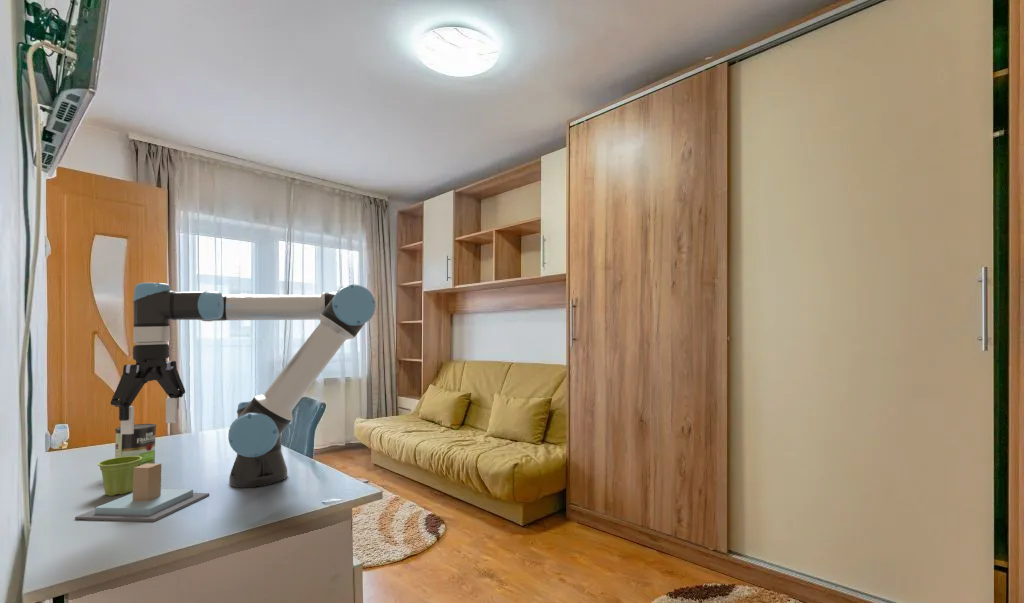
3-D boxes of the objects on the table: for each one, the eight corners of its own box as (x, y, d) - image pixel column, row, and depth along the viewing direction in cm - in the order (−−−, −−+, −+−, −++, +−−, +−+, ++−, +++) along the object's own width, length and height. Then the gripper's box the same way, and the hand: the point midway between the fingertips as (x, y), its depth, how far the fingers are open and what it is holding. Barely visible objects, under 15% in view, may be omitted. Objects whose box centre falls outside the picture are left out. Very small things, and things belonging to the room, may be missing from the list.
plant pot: (116, 499, 130) (117, 465, 130) (87, 497, 132) (88, 464, 132) (149, 488, 139) (150, 456, 139) (121, 486, 141) (122, 455, 141)
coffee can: (163, 467, 160) (164, 423, 160) (133, 477, 149) (135, 430, 150) (135, 466, 161) (136, 423, 162) (104, 476, 151) (106, 429, 152)
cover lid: (193, 495, 130) (194, 458, 131) (149, 515, 116) (150, 474, 117) (143, 494, 131) (144, 458, 132) (94, 514, 117) (96, 473, 118)
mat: (209, 495, 132) (209, 493, 132) (154, 521, 114) (154, 519, 114) (139, 494, 134) (140, 491, 134) (74, 519, 116) (75, 516, 116)
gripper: (175, 342, 139) (174, 418, 138) (92, 346, 114) (90, 439, 113) (200, 341, 138) (200, 418, 137) (122, 345, 113) (120, 439, 112)
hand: (150, 428), depth 125 cm, fingers open, 13 cm apart
